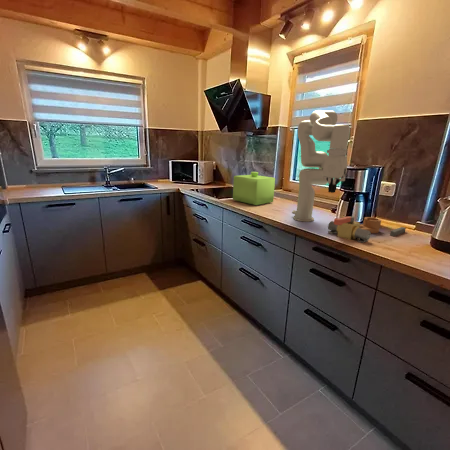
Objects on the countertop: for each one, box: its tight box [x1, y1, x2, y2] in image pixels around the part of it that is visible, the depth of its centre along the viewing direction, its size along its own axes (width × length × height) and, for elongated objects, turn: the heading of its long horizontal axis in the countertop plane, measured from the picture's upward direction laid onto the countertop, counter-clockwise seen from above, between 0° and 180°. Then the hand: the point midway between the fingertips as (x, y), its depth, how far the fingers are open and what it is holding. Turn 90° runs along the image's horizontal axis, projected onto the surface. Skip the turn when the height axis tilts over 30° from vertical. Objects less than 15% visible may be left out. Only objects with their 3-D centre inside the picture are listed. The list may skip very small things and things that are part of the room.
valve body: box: [327, 220, 372, 244], centre depth 139 cm, size 20×7×8 cm, turn 37°
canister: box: [232, 171, 276, 206], centre depth 219 cm, size 25×21×23 cm
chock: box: [389, 226, 407, 237], centre depth 148 cm, size 2×14×2 cm, turn 127°
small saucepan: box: [359, 216, 382, 234], centre depth 150 cm, size 18×8×7 cm, turn 107°
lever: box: [333, 215, 355, 225], centre depth 134 cm, size 14×4×3 cm, turn 127°
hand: (331, 192), depth 132 cm, fingers closed
